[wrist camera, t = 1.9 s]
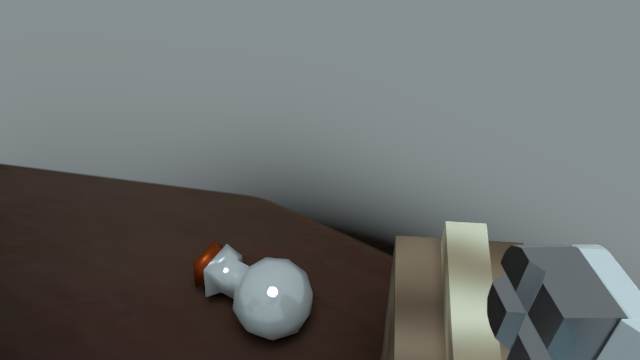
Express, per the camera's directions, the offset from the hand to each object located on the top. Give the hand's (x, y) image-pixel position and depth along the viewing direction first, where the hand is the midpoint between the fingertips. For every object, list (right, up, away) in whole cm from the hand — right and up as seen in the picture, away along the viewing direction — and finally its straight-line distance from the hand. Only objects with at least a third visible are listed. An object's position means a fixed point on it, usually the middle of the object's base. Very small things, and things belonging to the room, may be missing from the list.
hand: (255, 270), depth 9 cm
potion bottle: (-7, -14, +62) cm, 64 cm away
